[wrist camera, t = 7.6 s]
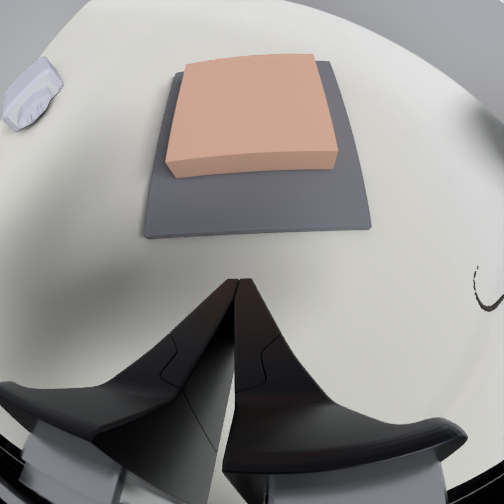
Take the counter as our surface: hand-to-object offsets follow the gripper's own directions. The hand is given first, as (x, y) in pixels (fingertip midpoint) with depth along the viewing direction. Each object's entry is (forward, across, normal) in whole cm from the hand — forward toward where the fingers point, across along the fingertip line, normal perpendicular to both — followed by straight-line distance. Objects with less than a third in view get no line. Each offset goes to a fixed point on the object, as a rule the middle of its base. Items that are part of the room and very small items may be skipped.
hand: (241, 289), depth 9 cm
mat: (+13, 0, -4) cm, 14 cm away
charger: (+22, +29, -13) cm, 39 cm away
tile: (+9, 0, -3) cm, 9 cm away
